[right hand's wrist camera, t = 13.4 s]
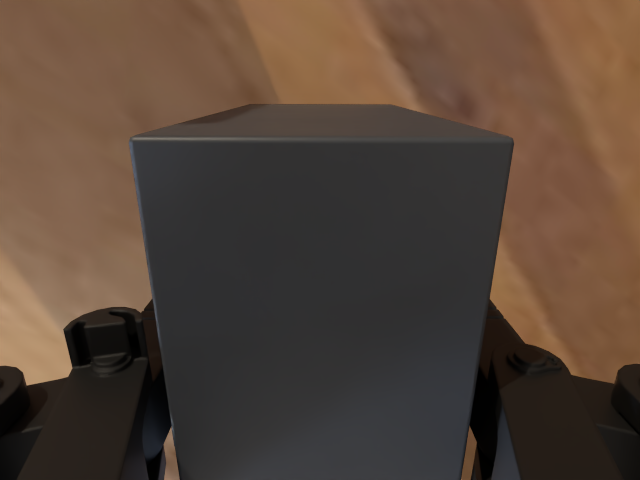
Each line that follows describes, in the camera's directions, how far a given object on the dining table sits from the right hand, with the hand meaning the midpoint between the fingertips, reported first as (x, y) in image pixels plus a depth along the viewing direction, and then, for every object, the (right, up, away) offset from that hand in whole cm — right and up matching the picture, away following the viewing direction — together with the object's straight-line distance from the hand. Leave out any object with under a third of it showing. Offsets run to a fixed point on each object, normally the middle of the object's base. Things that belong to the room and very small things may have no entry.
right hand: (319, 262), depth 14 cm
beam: (0, -19, +8) cm, 21 cm away
